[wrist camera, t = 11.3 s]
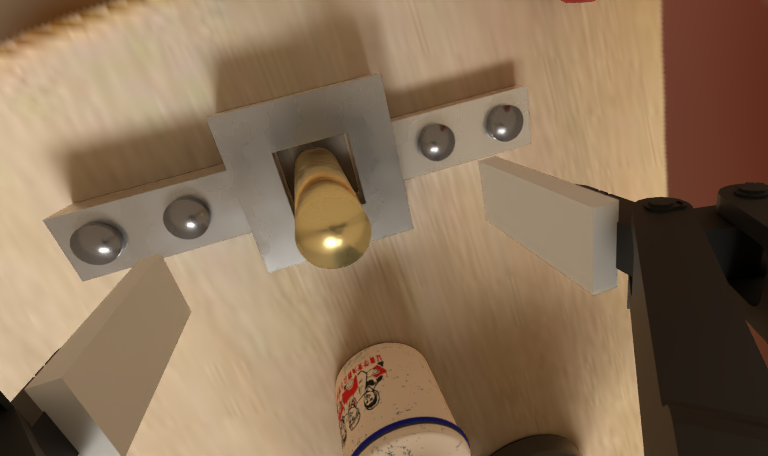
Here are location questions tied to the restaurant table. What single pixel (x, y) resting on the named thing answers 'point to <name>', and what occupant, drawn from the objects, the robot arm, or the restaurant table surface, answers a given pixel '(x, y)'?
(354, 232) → the brass pin
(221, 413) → the restaurant table surface
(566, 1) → the onion
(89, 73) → the restaurant table surface
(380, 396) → the teacup with lid
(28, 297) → the restaurant table surface
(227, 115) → the studded slotted bracket
